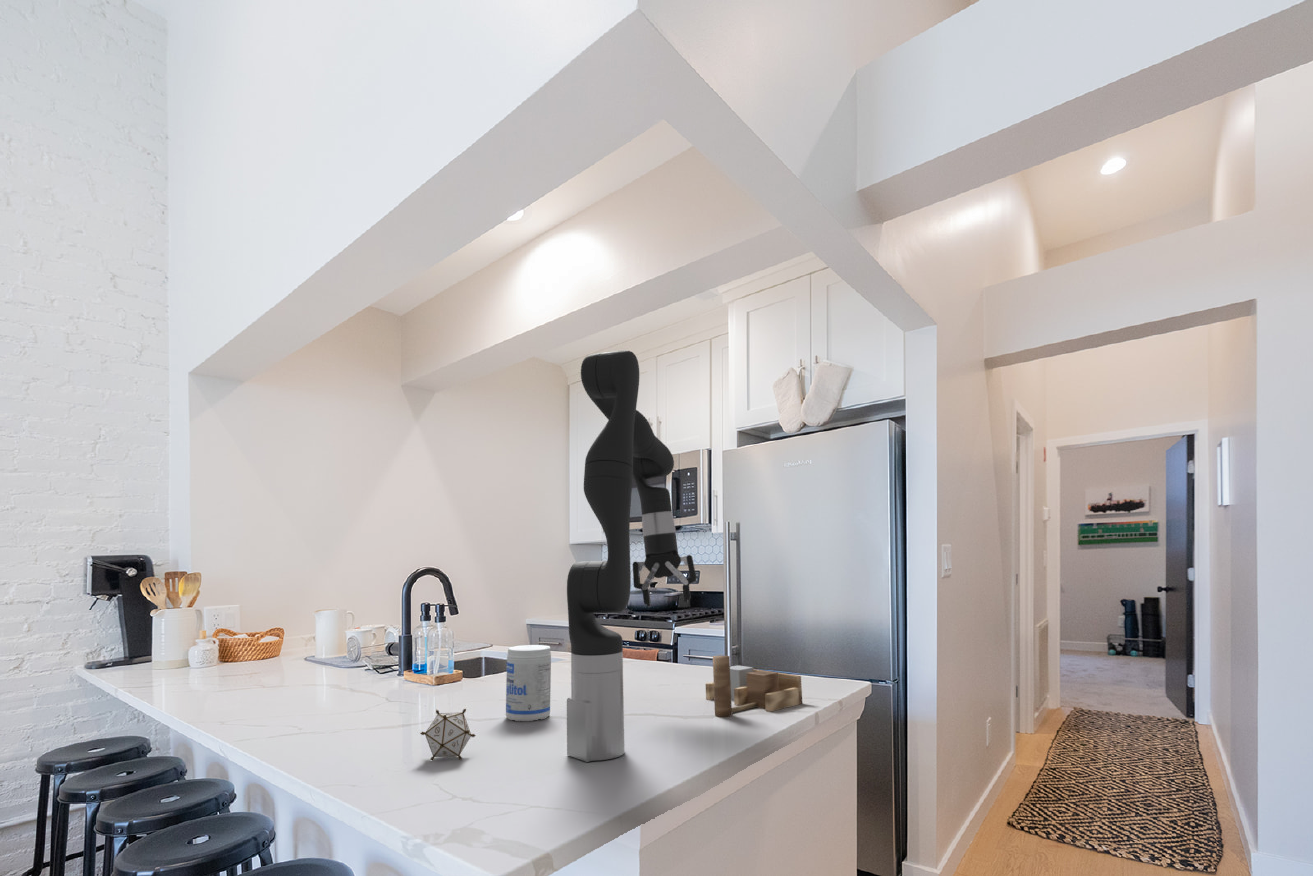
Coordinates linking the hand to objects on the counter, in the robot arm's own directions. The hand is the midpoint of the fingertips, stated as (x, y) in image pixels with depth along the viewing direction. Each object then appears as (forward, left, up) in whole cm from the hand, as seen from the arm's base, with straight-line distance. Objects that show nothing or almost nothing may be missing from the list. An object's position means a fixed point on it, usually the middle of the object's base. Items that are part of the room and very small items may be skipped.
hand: (667, 604), depth 160 cm
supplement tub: (-26, +17, -23) cm, 39 cm away
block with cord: (+11, -12, -23) cm, 28 cm away
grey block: (+19, -3, -23) cm, 30 cm away
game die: (-52, 0, -23) cm, 57 cm away
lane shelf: (+19, -8, -23) cm, 30 cm away
